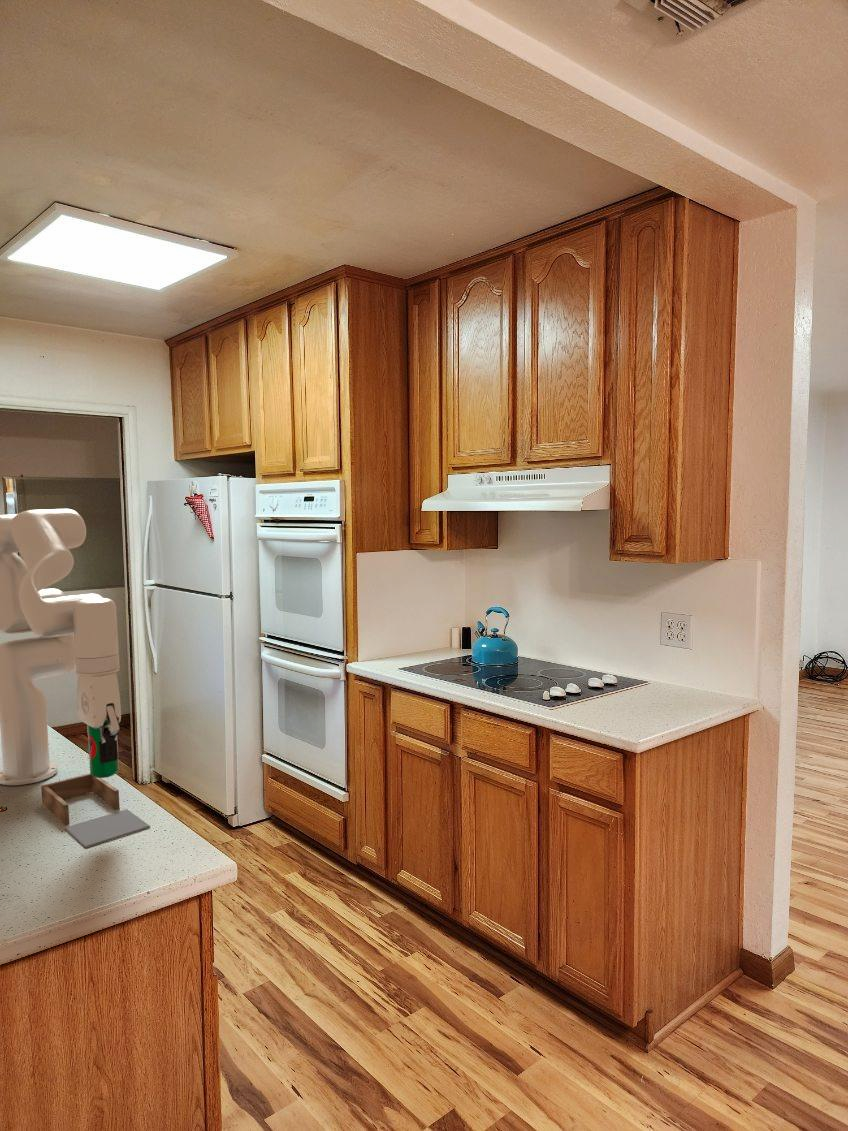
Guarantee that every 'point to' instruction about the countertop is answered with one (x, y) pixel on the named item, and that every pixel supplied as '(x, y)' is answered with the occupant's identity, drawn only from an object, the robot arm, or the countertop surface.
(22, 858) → the countertop surface
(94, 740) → the soda can
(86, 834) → the mat
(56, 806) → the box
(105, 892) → the countertop surface
